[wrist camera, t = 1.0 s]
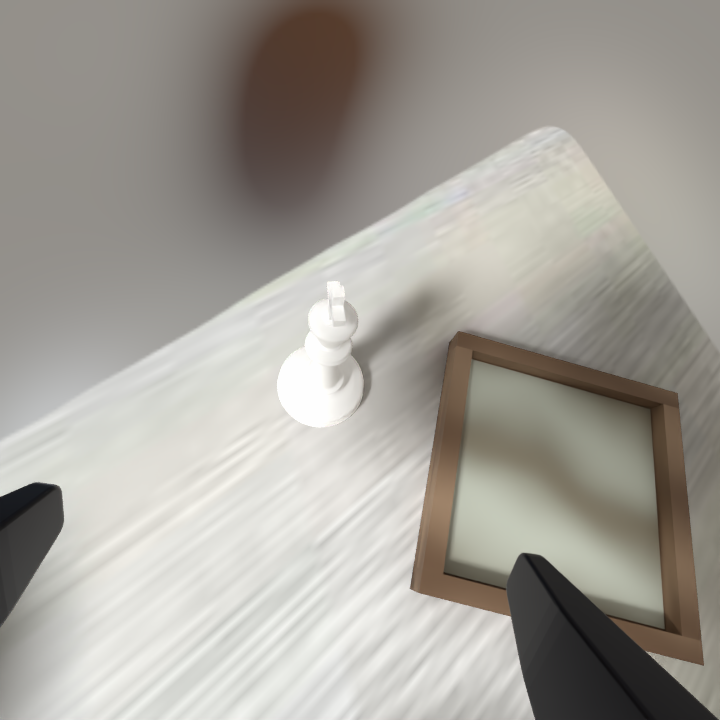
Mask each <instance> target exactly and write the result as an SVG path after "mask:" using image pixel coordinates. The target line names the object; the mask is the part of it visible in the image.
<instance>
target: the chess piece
mask: <svg viewBox="0 0 720 720" xmlns="http://www.w3.org/2000/svg"><path fill="white" fill-rule="evenodd" d="M327 293H328V298H324V299H322V300H320V301H318V302H316V303H315V304H314V305H313V306H312V308H311V309H310V312H309V315H308V323H309V327H310V329H311V330H310V332H309V333H308V334H307V336H306V340H305V346H303V347H301V348H299V349H297V350H296V351H294V352H293V353H292V354H291V355H290V356H289V357H288V358H287V359H286V360H285V362H284V363H283V365H282V367H281V370H280V373H279V376H278V382H277V390H278V395H279V399H280V401H281V403H282V405H283V407H284V408H285V410H286V411H287V412H288V413H289V414H290V415H291V416H292V417H293V418H294V419H296V420H297V421H299V422H301V423H303V424H306V425H309V426H314V427H329V426H333V425H336V424H339V423H341V422H343V421H345V420H346V419H348V418H349V417H350V416H351V415H352V414H353V413H354V412H355V411H356V409H357V408H358V406H359V404H360V402H361V400H362V396H363V390H364V379H363V374H362V371H361V368H360V366H359V364H358V363H357V361H356V360H355V359H354V357H353V356H352V355H351V351H352V341H351V337H352V336H353V334H354V333H355V331H356V329H357V326H358V316H357V313H356V311H355V309H354V308H353V307H352V305H351V304H349V303H348V302H347V301H345V292H344V287H343V286H340V284H339V281H333V282H328V283H327Z"/></svg>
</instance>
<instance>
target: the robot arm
mask: <svg viewBox="0 0 720 720" xmlns="http://www.w3.org/2000/svg"><path fill="white" fill-rule="evenodd" d="M63 523H64V511H63V499H62V490H61V488H60V487H59V486H57V485H54V484H47V483H40V482H36V483H32V484H29V485H27V486H25V487H22V488H20V489H18V490H15V491H13V492H11V493H8V494H6V495H4V496H1V497H0V627H1V625H2V624H3V623H4V621H5V620H6V618H7V617H8V616H9V614H10V613H11V611H12V609H13V608H14V606H15V605H16V603H17V602H18V600H19V599H20V597H21V595H22V594H23V592H24V590H25V589H26V587H27V586H28V584H29V582H30V581H31V579H32V577H33V576H34V574H35V573H36V571H37V569H38V568H39V566H40V564H41V563H42V561H43V559H44V558H45V556H46V555H47V553H48V551H49V550H50V548H51V546H52V545H53V543H54V542H55V540H56V538H57V537H58V535H59V533H60V532H61V529H62V527H63ZM506 592H507V598H508V603H509V608H510V614H511V619H512V624H513V629H514V634H515V639H516V644H517V650H518V655H519V660H520V665H521V669H522V674H523V678H524V682H525V685H526V689H527V693H528V696H529V699H530V703H531V706H532V710H533V713H534V717H535V720H719V719H717V718H716V717H715V716H714V715H713V714H712V713H711V712H710V711H709V710H708V709H707V708H706V707H705V706H703V705H702V704H701V703H700V702H699V701H698V700H697V699H696V698H695V697H694V696H693V695H692V694H691V693H689V692H688V691H687V690H686V689H685V688H684V687H683V686H682V685H681V684H680V683H679V682H678V681H677V680H676V679H674V678H673V677H672V676H671V675H670V674H669V673H668V672H667V671H666V670H665V669H664V668H663V667H662V666H660V665H659V664H658V663H657V662H656V661H655V660H654V659H653V658H652V657H651V656H650V655H649V654H648V653H646V652H645V651H644V650H643V649H642V648H641V647H640V646H639V645H638V644H637V643H636V642H635V641H634V640H632V639H631V638H630V637H629V636H628V635H627V634H626V633H625V632H624V631H623V630H622V629H621V628H620V627H619V626H617V625H616V624H615V623H614V622H613V621H612V620H611V619H610V618H609V617H608V616H607V615H606V614H605V613H603V612H602V611H601V610H600V609H599V608H598V607H597V606H596V605H595V604H594V603H593V602H592V601H591V600H589V599H588V598H587V597H586V596H585V595H584V594H583V593H582V592H581V591H580V590H579V589H578V588H577V587H576V586H574V585H573V584H572V583H571V582H570V581H569V580H568V579H567V578H566V577H565V576H564V575H563V574H562V573H560V572H559V571H558V570H557V569H556V568H555V567H554V566H553V565H552V564H551V563H550V562H549V561H548V560H546V559H545V558H544V557H543V556H541V555H538V554H532V553H521V554H520V555H519V556H518V558H517V560H516V562H515V564H514V566H513V569H512V571H511V573H510V575H509V577H508V580H507V584H506Z"/></svg>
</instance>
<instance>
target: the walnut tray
mask: <svg viewBox="0 0 720 720" xmlns="http://www.w3.org/2000/svg"><path fill="white" fill-rule="evenodd" d="M521 553H532V554H538V555H541V556H543V557H544V558H545V559H546V560H548V561H549V562H550V563H551V564H552V565H553V566H554V567H555V568H556V569H557V570H558V571H559V572H560V573H562V574H563V575H564V576H565V577H566V578H567V579H568V580H569V581H570V582H571V583H572V584H573V585H574V586H576V587H577V588H578V589H579V590H580V591H581V592H582V593H583V594H584V595H585V596H586V597H587V598H588V599H589V600H591V601H592V602H593V603H594V604H595V605H596V606H597V607H598V608H599V609H600V610H601V611H602V612H603V613H605V614H606V615H607V616H608V617H609V618H610V619H611V620H612V621H613V622H614V623H615V624H616V625H617V626H619V627H620V628H621V629H622V630H623V631H624V632H625V633H626V634H627V635H628V636H629V637H630V638H631V639H632V640H634V641H635V642H636V643H637V644H638V645H639V646H640V647H641V648H642V649H643V650H644V651H648V652H652V653H656V654H660V655H664V656H668V657H672V658H676V659H680V660H684V661H688V662H691V663H695V664H699V665H703V666H704V661H703V651H702V641H701V630H700V620H699V610H698V599H697V589H696V579H695V568H694V558H693V548H692V537H691V527H690V517H689V506H688V496H687V486H686V475H685V465H684V455H683V444H682V434H681V424H680V413H679V403H678V393H675V392H672V391H668V390H665V389H661V388H658V387H654V386H651V385H647V384H643V383H640V382H636V381H633V380H629V379H626V378H622V377H619V376H615V375H612V374H608V373H605V372H601V371H598V370H594V369H591V368H587V367H584V366H580V365H577V364H573V363H569V362H566V361H562V360H559V359H555V358H552V357H548V356H545V355H541V354H538V353H534V352H531V351H527V350H524V349H520V348H517V347H513V346H510V345H506V344H503V343H499V342H496V341H492V340H488V339H485V338H481V337H478V336H474V335H471V334H467V333H464V332H460V331H458V333H457V334H456V335H455V336H454V338H453V339H452V340H451V341H450V342H449V349H448V355H447V361H446V367H445V374H444V380H443V386H442V392H441V399H440V405H439V411H438V417H437V424H436V430H435V436H434V442H433V449H432V455H431V461H430V467H429V474H428V480H427V486H426V492H425V499H424V505H423V511H422V517H421V524H420V530H419V536H418V542H417V549H416V555H415V561H414V567H413V573H412V580H411V586H410V589H411V590H414V591H416V592H418V593H421V594H425V595H429V596H433V597H437V598H441V599H445V600H449V601H453V602H456V603H460V604H464V605H468V606H472V607H476V608H480V609H484V610H488V611H492V612H496V613H500V614H503V615H507V616H511V614H510V608H509V603H508V598H507V592H506V584H507V580H508V577H509V575H510V573H511V571H512V569H513V566H514V564H515V562H516V560H517V558H518V556H519V555H520V554H521Z"/></svg>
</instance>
